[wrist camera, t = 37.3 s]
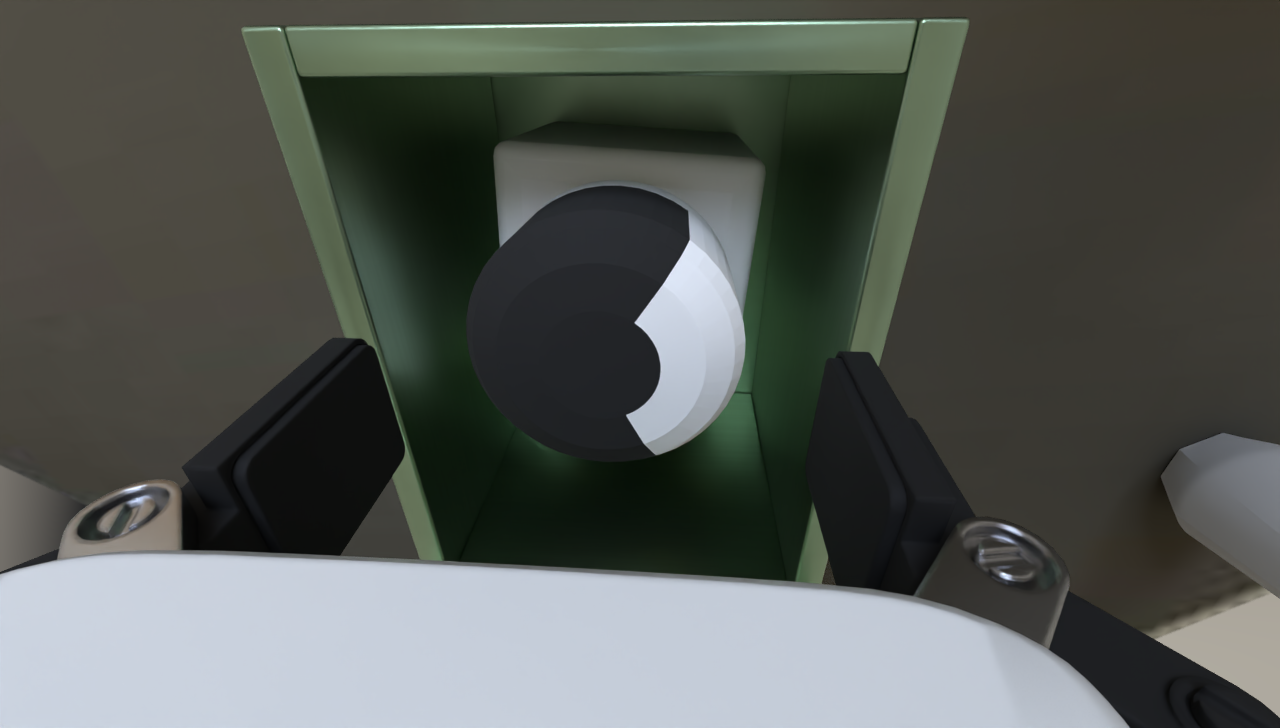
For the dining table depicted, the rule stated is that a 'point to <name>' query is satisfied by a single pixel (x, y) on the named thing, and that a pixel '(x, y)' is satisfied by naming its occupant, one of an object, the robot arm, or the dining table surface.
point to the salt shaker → (1231, 502)
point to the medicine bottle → (616, 285)
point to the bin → (469, 236)
